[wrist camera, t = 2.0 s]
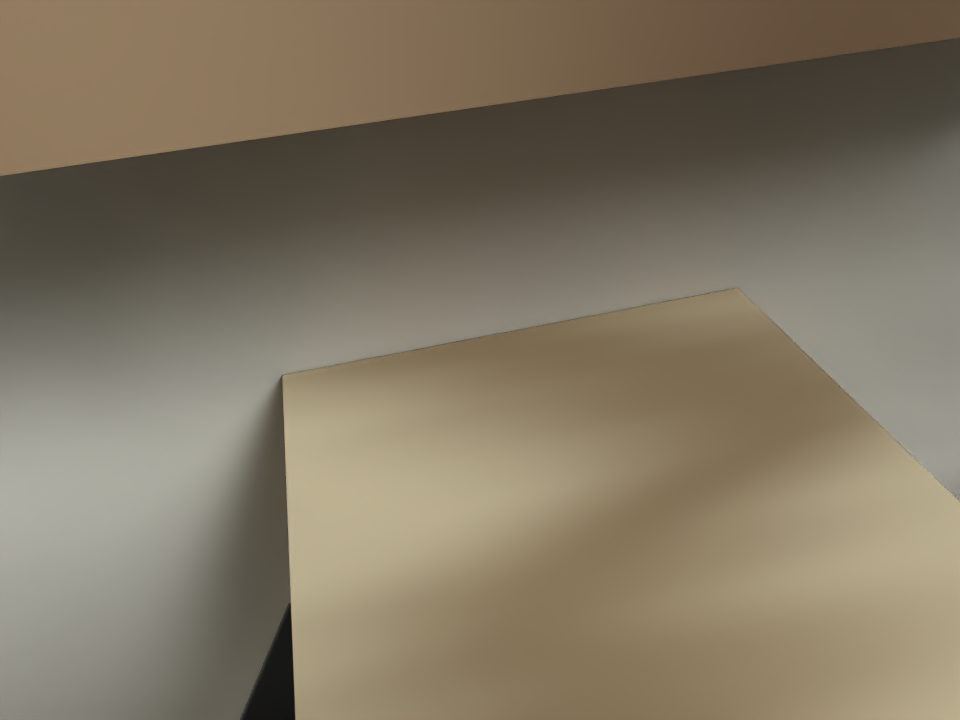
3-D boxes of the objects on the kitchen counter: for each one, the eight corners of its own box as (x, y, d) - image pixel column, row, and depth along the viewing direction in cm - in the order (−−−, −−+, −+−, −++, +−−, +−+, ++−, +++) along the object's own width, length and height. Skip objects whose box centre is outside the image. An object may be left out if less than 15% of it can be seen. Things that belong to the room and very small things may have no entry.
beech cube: (738, 288, 9) (1143, 679, 5) (702, 586, 12) (937, 989, 8) (282, 375, 8) (303, 921, 4) (362, 669, 11) (422, 1163, 7)
